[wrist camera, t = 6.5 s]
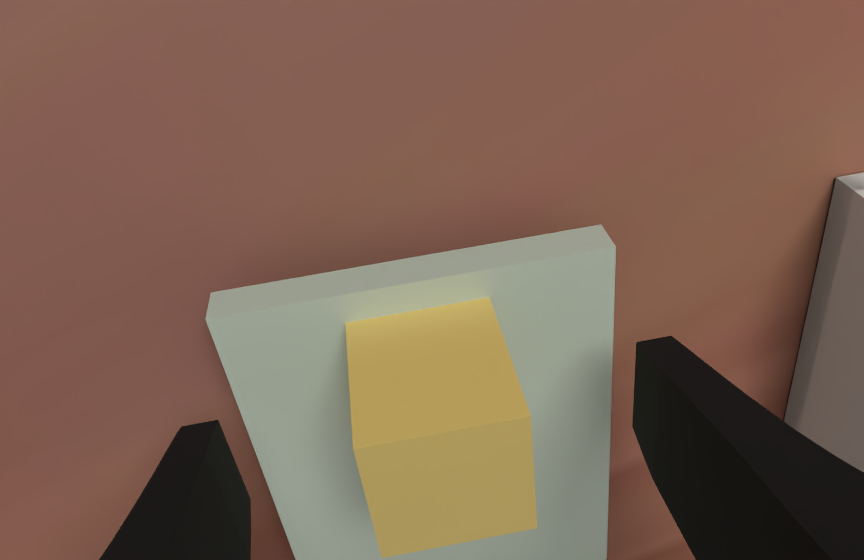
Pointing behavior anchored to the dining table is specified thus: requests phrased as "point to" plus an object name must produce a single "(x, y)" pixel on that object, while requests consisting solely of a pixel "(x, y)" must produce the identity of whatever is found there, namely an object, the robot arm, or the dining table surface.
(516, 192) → the dining table surface
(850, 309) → the tub
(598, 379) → the lid
